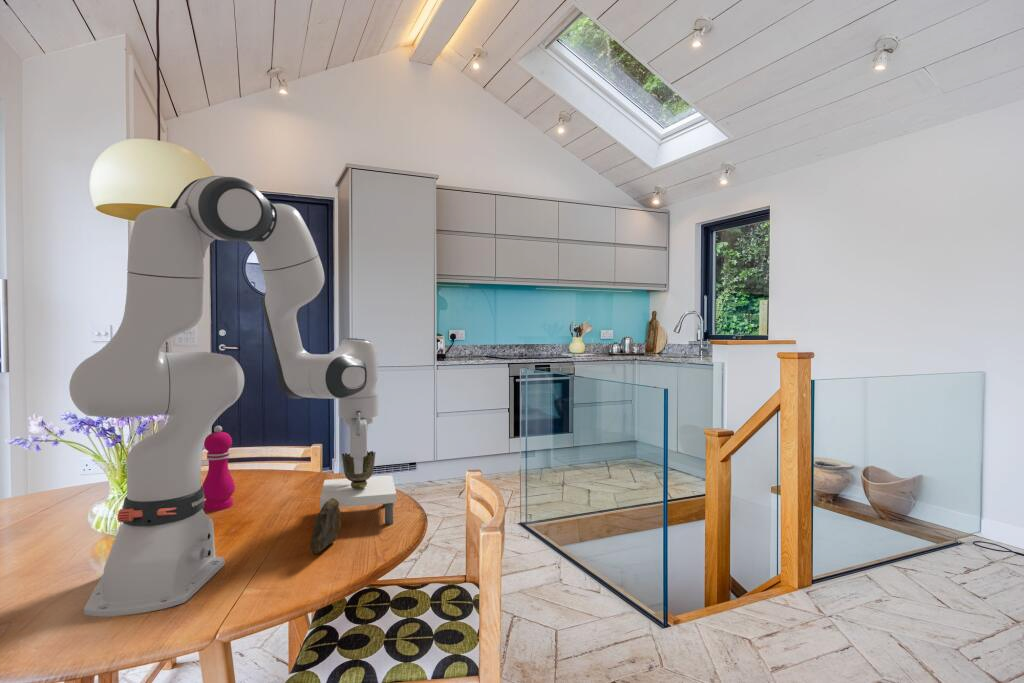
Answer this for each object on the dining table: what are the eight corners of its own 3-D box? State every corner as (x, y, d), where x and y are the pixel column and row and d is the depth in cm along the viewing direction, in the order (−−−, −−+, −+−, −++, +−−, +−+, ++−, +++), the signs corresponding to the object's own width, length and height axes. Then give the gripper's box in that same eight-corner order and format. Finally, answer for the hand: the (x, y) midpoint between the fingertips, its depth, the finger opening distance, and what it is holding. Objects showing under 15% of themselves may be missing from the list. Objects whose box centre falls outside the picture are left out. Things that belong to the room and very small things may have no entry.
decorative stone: (344, 492, 108) (327, 488, 109) (321, 517, 99) (303, 513, 100) (340, 537, 111) (324, 533, 111) (318, 565, 102) (301, 562, 102)
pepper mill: (224, 512, 127) (224, 428, 127) (194, 512, 127) (194, 428, 127) (240, 502, 135) (240, 423, 134) (212, 502, 135) (212, 423, 134)
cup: (337, 490, 119) (337, 454, 120) (346, 486, 126) (346, 451, 127) (371, 489, 119) (371, 452, 120) (378, 484, 126) (378, 450, 127)
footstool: (396, 525, 119) (396, 493, 119) (319, 532, 115) (319, 499, 115) (392, 503, 135) (392, 475, 134) (324, 508, 130) (324, 479, 130)
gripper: (373, 414, 115) (373, 478, 115) (371, 402, 135) (371, 457, 135) (342, 415, 113) (342, 480, 114) (345, 403, 133) (345, 459, 133)
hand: (358, 468), depth 124 cm, fingers open, 8 cm apart
